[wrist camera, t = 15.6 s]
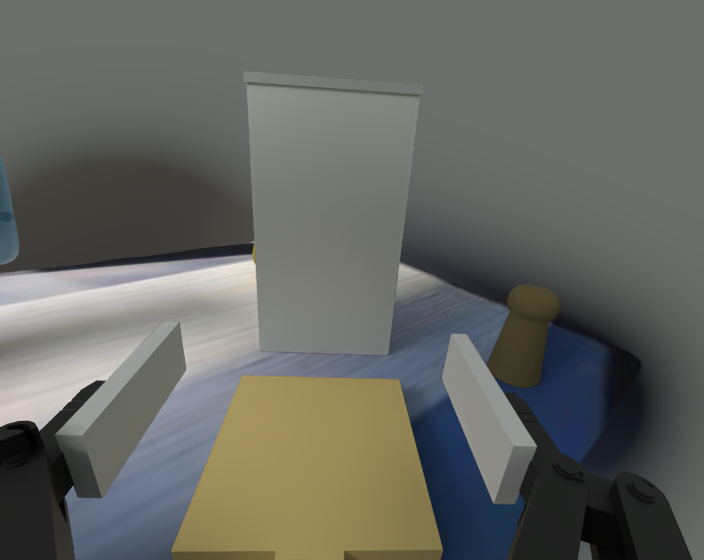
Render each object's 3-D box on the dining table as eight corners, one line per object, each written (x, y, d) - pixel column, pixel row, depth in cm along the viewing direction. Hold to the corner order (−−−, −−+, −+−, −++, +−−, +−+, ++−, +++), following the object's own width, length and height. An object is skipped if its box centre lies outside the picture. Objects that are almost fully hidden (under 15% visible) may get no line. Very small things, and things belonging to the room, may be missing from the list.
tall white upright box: (389, 356, 43) (423, 84, 32) (258, 352, 42) (243, 71, 31) (376, 299, 58) (396, 101, 47) (279, 295, 57) (275, 93, 46)
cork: (529, 395, 38) (558, 306, 34) (478, 369, 42) (498, 287, 38) (547, 372, 42) (575, 291, 38) (499, 350, 46) (519, 274, 42)
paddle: (524, 960, 11) (552, 940, 10) (21, 1000, 11) (-16, 984, 9) (396, 398, 36) (399, 372, 35) (243, 395, 36) (241, 368, 34)
